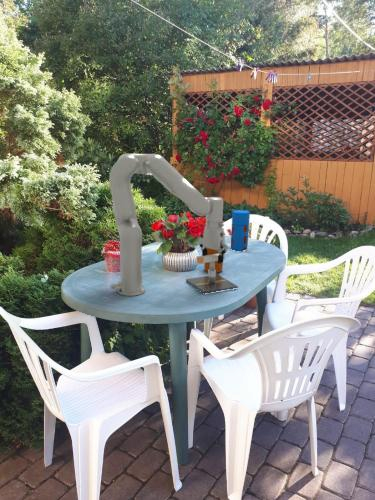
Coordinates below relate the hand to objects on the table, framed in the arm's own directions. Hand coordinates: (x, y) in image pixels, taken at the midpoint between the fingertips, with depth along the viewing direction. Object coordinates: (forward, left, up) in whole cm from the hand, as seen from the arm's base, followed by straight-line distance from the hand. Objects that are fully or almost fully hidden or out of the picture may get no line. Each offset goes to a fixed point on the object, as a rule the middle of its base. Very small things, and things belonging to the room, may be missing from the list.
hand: (212, 260), depth 174 cm
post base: (0, 0, -12) cm, 12 cm away
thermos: (+49, +50, -13) cm, 71 cm away
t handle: (-1, 0, -4) cm, 4 cm away
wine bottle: (+12, +19, -13) cm, 26 cm away
